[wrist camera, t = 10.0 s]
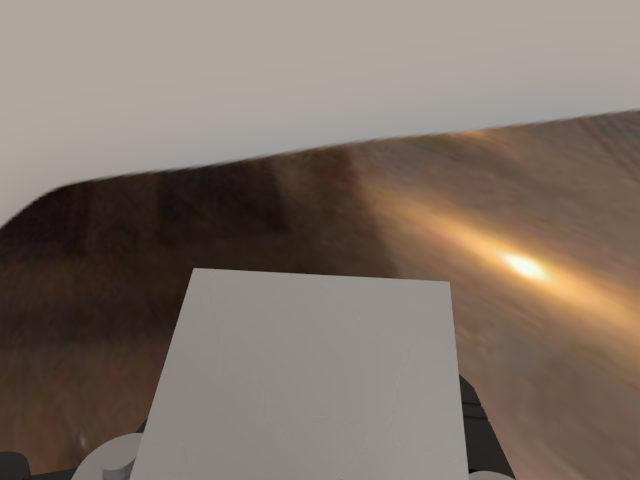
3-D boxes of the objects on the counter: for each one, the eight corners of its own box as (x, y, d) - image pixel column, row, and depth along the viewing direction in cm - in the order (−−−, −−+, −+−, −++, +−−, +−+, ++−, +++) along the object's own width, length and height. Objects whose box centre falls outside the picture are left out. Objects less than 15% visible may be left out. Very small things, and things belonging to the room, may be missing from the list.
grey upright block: (252, 551, 10) (41, 765, 3) (281, 351, 13) (203, 236, 6) (396, 572, 10) (508, 874, 3) (393, 360, 12) (446, 246, 6)
